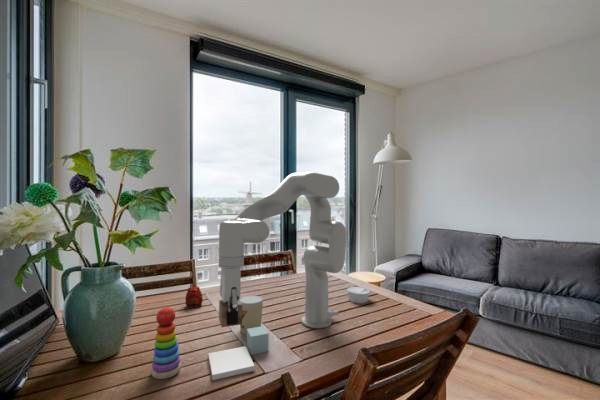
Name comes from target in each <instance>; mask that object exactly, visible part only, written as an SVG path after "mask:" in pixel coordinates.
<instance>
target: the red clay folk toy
mask: <svg viewBox="0 0 600 400" xmlns="http://www.w3.org/2000/svg"><path fill="white" fill-rule="evenodd" d="M195 276H196V275H195V274H193V275H192V276H189V279H192V278H193V285H192V287H188V289H187V292H186V295H185V305H186V306H185V307H186V308H189V309H190V308H195V309H196V308H199V307H201V306H202V304H203V302H204V301H203V293H202V291H201V289H200V286H196V280H195V279H196V278H195Z"/></svg>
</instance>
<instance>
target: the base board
mask: <svg viewBox="0 0 600 400" xmlns="http://www.w3.org/2000/svg"><path fill="white" fill-rule="evenodd" d="M208 363H209V364H208V365H209V368H210V375H211V381H216V380H219V379H220V380H221V379H223V378H224V379H225V378H228V377H232V376H237V375H241V374H245V373H250V372H254V371H255V364H254V362H253V359H252V357H251V354H250V352H249V350H248V348H247V345H245V346H240V347H235V348H234V347H233V348H229V349H225V350H218V351H213V352H208Z"/></svg>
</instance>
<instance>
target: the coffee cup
mask: <svg viewBox="0 0 600 400" xmlns="http://www.w3.org/2000/svg"><path fill="white" fill-rule="evenodd" d="M240 301H241V303H242V324H240V325H239V327H240V328H239V329H240V333H242V334H243V335H245V336H247V329H249V328H255V327H260V326H262V319H263V318H262V317H263V315H262V314H263V305H264V304H263V303H264V300H263V297H261V296H259V295H252V294H251V295H244V296H243V297H240Z"/></svg>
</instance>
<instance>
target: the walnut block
mask: <svg viewBox="0 0 600 400" xmlns="http://www.w3.org/2000/svg"><path fill="white" fill-rule="evenodd" d="M229 300H232V299H229ZM231 304H232V302H231V303H230V305H231ZM218 306H219V307H218V308H219V309H218V321H219V323H220V327H221V328H226V327H234V326H238V325H239V326H240V324H242V303H241V301H240V300H238V323H237V324H232V325H227V311H228V301H226V302H224V301H223V300H222V299H219V301H218Z"/></svg>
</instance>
